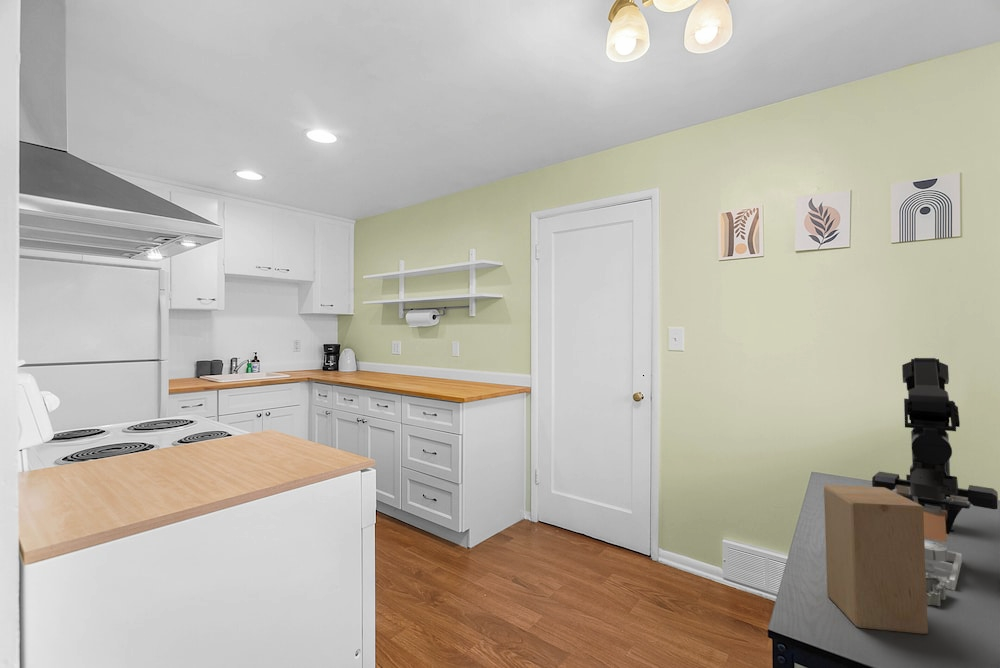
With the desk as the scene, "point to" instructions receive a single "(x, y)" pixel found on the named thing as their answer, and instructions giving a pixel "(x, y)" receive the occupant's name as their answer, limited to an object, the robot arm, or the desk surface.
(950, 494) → the robot arm
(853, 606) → the wooden block
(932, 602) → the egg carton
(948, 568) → the chassis
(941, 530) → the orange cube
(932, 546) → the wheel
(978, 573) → the desk surface
